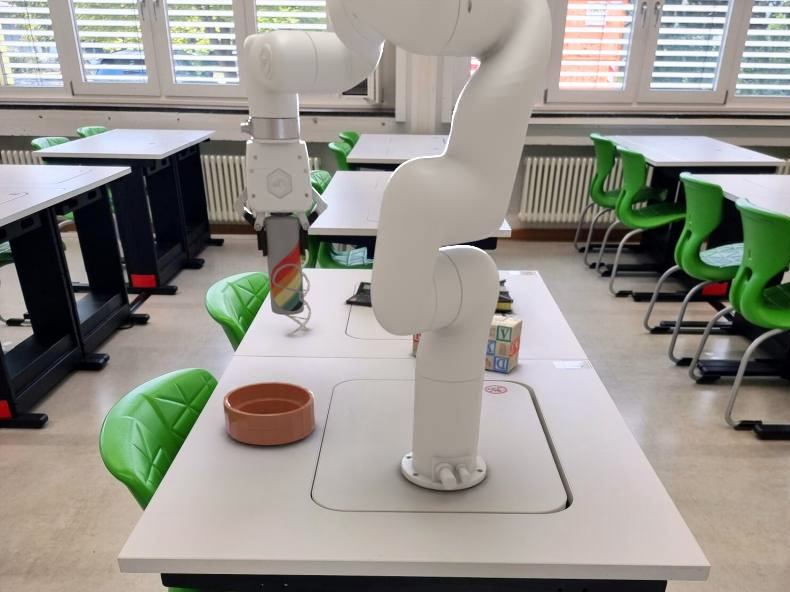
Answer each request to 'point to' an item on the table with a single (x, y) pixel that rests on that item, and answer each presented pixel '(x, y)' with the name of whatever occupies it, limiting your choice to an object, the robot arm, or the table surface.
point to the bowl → (269, 413)
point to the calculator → (361, 295)
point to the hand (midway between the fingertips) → (283, 253)
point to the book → (504, 299)
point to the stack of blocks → (497, 344)
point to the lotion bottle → (284, 263)
